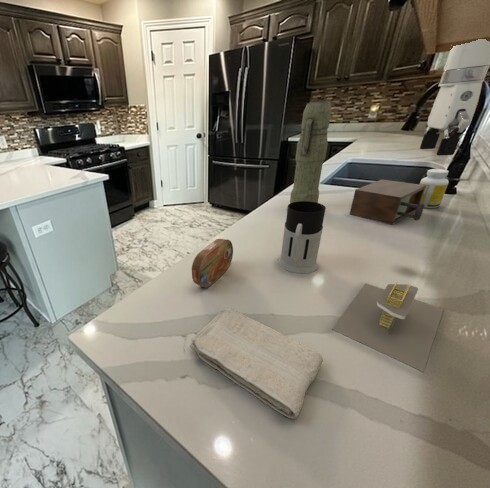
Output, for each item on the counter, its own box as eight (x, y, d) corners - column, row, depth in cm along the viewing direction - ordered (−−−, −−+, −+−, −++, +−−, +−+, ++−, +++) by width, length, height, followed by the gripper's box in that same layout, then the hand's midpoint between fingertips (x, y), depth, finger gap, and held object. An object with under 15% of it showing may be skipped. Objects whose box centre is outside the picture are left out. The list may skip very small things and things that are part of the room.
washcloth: (224, 313, 52) (224, 301, 50) (324, 363, 40) (328, 349, 39) (186, 352, 45) (185, 339, 43) (295, 426, 33) (298, 411, 32)
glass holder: (319, 258, 66) (330, 202, 59) (311, 290, 55) (324, 226, 49) (282, 252, 70) (289, 198, 63) (269, 280, 60) (275, 220, 53)
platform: (332, 329, 46) (339, 300, 43) (365, 283, 56) (373, 256, 53) (423, 372, 37) (441, 339, 34) (443, 308, 47) (458, 279, 44)
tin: (201, 294, 58) (200, 262, 54) (190, 289, 60) (188, 258, 56) (234, 263, 67) (234, 234, 64) (223, 260, 69) (223, 232, 66)
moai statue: (320, 205, 96) (340, 98, 80) (310, 216, 89) (330, 100, 73) (295, 202, 102) (308, 101, 86) (284, 212, 94) (296, 103, 78)
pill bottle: (443, 206, 85) (458, 170, 80) (431, 210, 83) (445, 174, 78) (420, 201, 91) (432, 167, 85) (407, 205, 89) (419, 170, 84)
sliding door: (426, 218, 76) (434, 198, 74) (415, 224, 74) (423, 204, 71) (402, 213, 81) (408, 194, 78) (391, 219, 78) (397, 199, 76)
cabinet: (417, 211, 84) (426, 185, 80) (391, 224, 78) (400, 197, 74) (374, 202, 94) (381, 179, 90) (349, 214, 87) (355, 189, 83)
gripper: (510, 72, 54) (473, 157, 62) (462, 77, 68) (437, 146, 76) (461, 77, 57) (432, 158, 65) (425, 81, 71) (405, 147, 79)
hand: (435, 151), depth 70 cm, fingers open, 9 cm apart
